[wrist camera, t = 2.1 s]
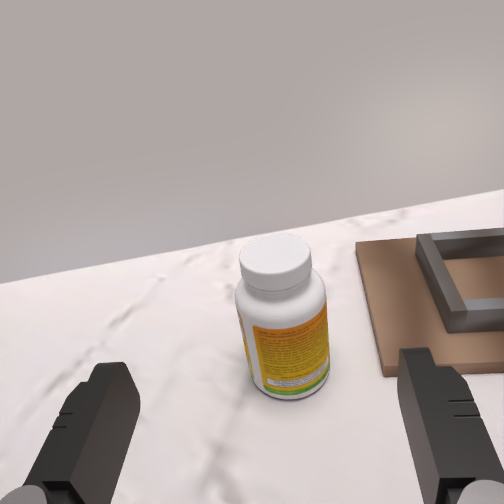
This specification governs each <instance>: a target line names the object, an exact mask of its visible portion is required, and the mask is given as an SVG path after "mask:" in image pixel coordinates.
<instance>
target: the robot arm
mask: <svg viewBox="0 0 504 504" xmlns="http://www.w3.org/2000/svg"><path fill="white" fill-rule="evenodd" d="M397 390H398V399H399V404H400V409H401V413H402V417H403V421H404V425H405V429H406V433H407V437H408V441H409V445H410V449H411V453H412V457H413V461H414V465H415V469H416V473H417V477H418V481H419V485H420V489H421V493H422V497H423V501H424V504H504V470H503V468H502V465H501V463H500V461H499V458H498V456H497V453H496V451H495V449H494V446H493V444H492V441H491V439H490V437H489V434H488V432H487V429H486V427H485V425H484V422H483V420H482V418H481V417H480V413H479V410H478V408H477V406H476V403H474V398H473V396H472V394H471V391H470V389H469V386H468V384H467V382H466V380H465V379H464V378H463V377H462V376H461V375H460V374H459V373H458V372H457V371H456V370H455V369H454V368H453V367H452V366H438V367H436V365H435V362H434V359H433V356H432V354H431V351H430V349H429V348H428V347H415V348H400V349H399V360H398V378H397ZM139 412H140V395H139V392H138V390H137V388H136V386H135V383H134V381H133V379H132V377H131V374H130V372H129V370H128V368H127V366H126V364H125V363H124V362H111V363H98V364H97V365H96V366H95V367H94V369H93V371H92V373H91V375H90V378H89V380H88V382H80V383H79V385H78V386H77V387H76V388H75V389H74V390H73V391H72V392H71V393H70V394H69V395H68V396H67V398H66V400H65V402H64V404H63V406H62V408H61V410H60V412H59V416H57V418H56V420H55V422H54V424H53V426H52V427H53V429H52V430H50V432H49V434H48V436H47V438H46V440H45V442H44V444H43V446H42V448H41V450H40V452H39V454H38V456H37V459H36V461H35V463H34V465H33V467H32V469H31V471H30V473H29V475H28V477H27V479H26V480H25V482H24V484H23V485H22V487H19V488H17V489H15V490H13V491H11V492H10V493H8V494H7V495H6V496H5V497H3V498H2V499H1V500H0V504H110V503H111V500H112V497H113V494H114V491H115V488H116V485H117V481H118V478H119V475H120V472H121V469H122V466H123V463H124V460H125V457H126V454H127V450H128V447H129V444H130V441H131V438H132V435H133V432H134V429H135V426H136V422H137V419H138V416H139Z"/></svg>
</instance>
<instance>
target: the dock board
mask: <svg viewBox="0 0 504 504" xmlns="http://www.w3.org/2000/svg"><path fill="white" fill-rule="evenodd" d="M356 255H357V259H358V264H359V268H360V273H361V277H362V282H363V286H364V290H365V295H366V299H367V304H368V308H369V313H370V317H371V322H372V326H373V331H374V335H375V339H376V344H377V348H378V353H379V357H380V362H381V366H382V371H383V375H384V377H391V376H398V360H399V349H400V348H415V347H428V348H429V349H430V351H431V354H432V356H433V359H434V362H435V365H436V367H438V366H452V367H453V368H454V369H455V370H456V371H457V372H458V373H459V374H474V373H501V372H504V228H493V229H481V230H468V231H455V232H442V233H429V234H417V237H416V238H403V239H390V240H377V241H364V242H356Z"/></svg>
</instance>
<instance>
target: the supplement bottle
mask: <svg viewBox="0 0 504 504" xmlns="http://www.w3.org/2000/svg"><path fill="white" fill-rule="evenodd" d="M239 261H240V267H241V275H242V278H241V280H240V281H239V283H238V285H237V287H236V291H235V302H236V308H237V313H238V317H239V322H240V327H241V331H242V336H243V341H244V346H245V351H246V356H247V360H248V365H249V369H250V373H251V376H252V379H253V381H254V383H255V384H256V385H257V387H258V388H259V389H260V390H262V391H263V392H264V393H266V394H268V395H270V396H273V397H276V398H280V399H298V398H302V397H305V396H308V395H310V394H312V393H313V392H315V391H316V390H317V389H319V388H320V387H321V386H322V385H323V383H324V382H325V380H326V378H327V376H328V374H329V369H330V355H329V340H328V323H327V303H326V291H325V285H324V282H323V280H322V278H321V276H320V275H319V274H318V272H317V271H315V270H314V269H313V268H312V259H311V251H310V247H309V245H308V243H307V242H306V241H305V240H304V239H302V238H301V237H299V236H296V235H293V234H288V233H271V234H266V235H262V236H259V237H257V238H255V239H253V240H251V241H249V242H248V243H247V244H246V245H245V246H244V247H243V248H242V250H241V251H240V255H239Z"/></svg>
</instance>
